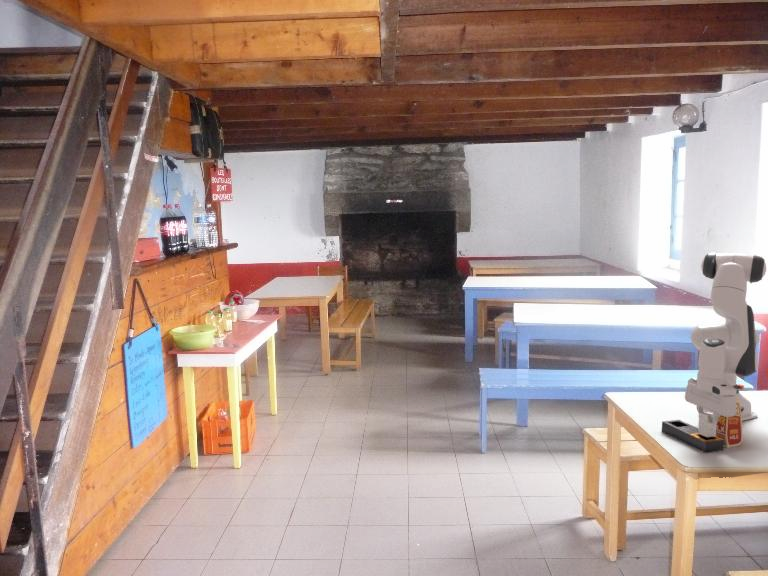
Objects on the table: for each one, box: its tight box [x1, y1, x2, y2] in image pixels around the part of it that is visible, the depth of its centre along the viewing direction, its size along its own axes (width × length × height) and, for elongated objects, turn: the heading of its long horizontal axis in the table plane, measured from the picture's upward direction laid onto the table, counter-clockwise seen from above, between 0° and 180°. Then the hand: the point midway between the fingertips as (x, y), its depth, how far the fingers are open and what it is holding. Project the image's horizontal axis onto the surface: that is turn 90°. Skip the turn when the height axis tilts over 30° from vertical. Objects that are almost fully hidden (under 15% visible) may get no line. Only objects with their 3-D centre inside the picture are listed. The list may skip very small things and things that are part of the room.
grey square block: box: [697, 412, 716, 437], centre depth 218 cm, size 4×4×8 cm
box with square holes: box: [661, 419, 725, 454], centre depth 226 cm, size 8×22×4 cm, turn 15°
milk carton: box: [716, 395, 743, 449], centre depth 224 cm, size 9×9×20 cm
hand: (707, 421), depth 218 cm, fingers closed on grey square block, 4 cm apart
